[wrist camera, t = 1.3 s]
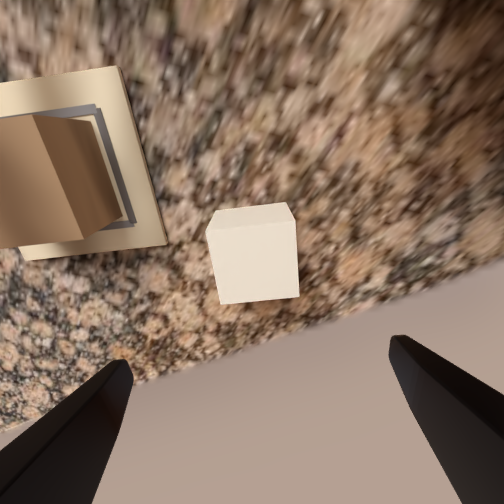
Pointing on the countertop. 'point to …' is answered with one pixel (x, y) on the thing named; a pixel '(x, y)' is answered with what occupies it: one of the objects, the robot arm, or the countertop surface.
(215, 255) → the cream block
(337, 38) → the countertop surface
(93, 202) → the walnut block
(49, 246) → the build plate
